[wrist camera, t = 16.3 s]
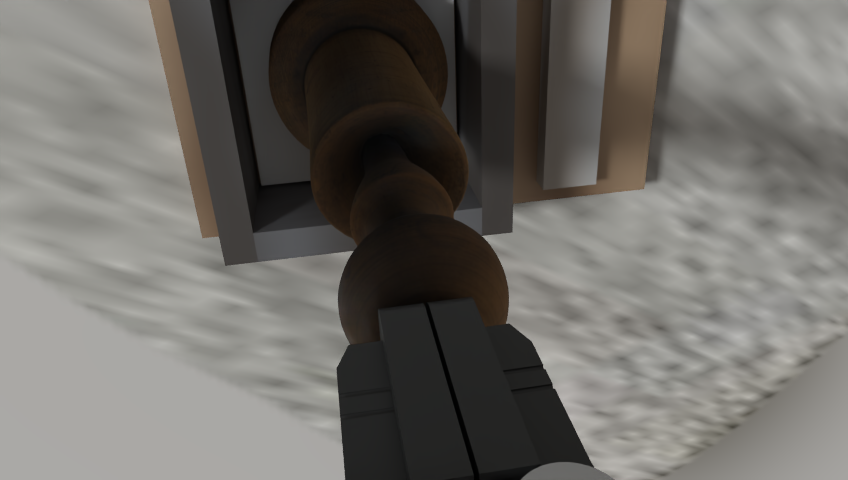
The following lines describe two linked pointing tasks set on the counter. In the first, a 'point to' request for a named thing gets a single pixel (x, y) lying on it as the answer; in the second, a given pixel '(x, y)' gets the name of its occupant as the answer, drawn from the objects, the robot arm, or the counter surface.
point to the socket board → (463, 106)
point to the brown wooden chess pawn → (383, 156)
